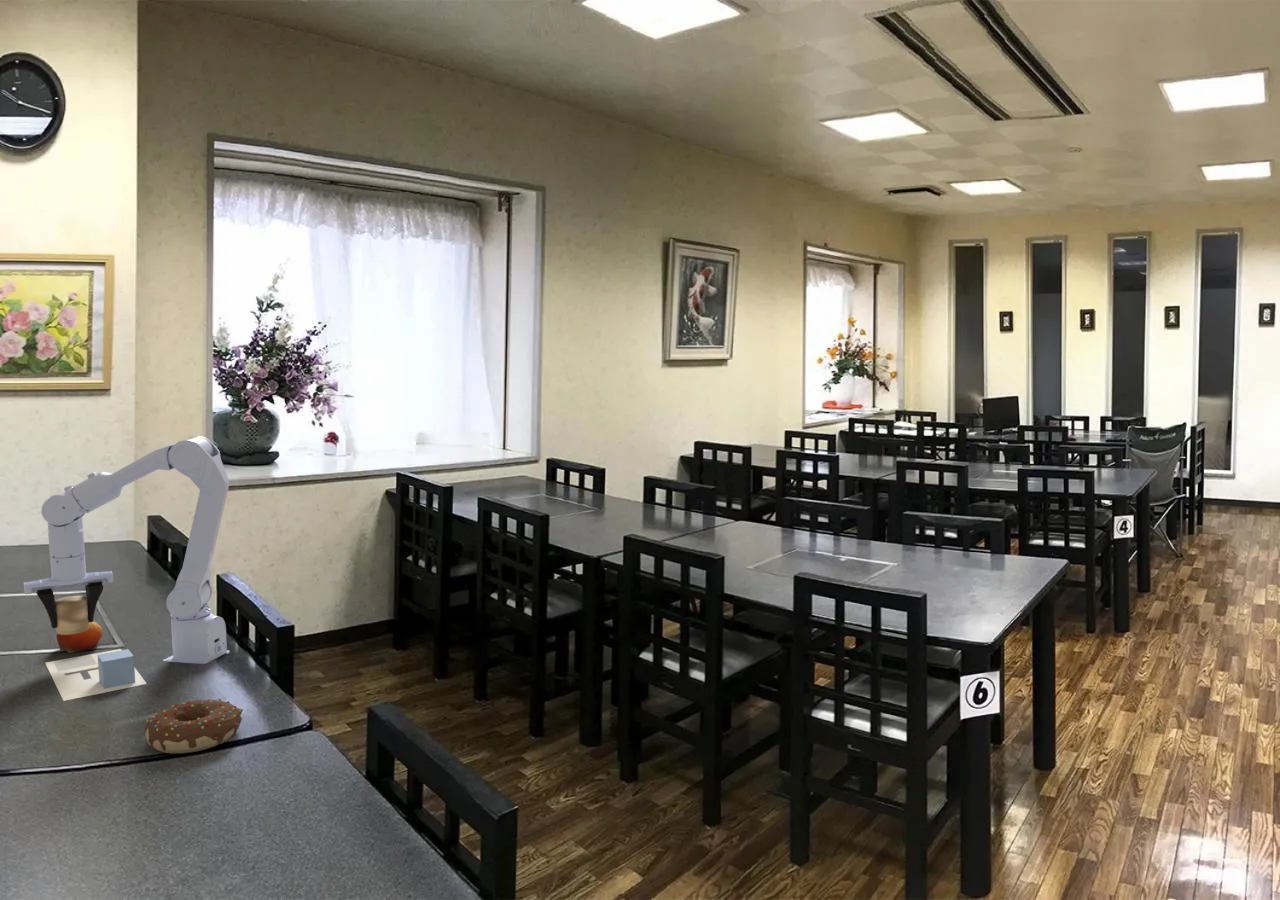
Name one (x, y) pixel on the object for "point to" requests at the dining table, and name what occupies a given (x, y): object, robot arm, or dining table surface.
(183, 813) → the dining table surface
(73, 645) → the fruit
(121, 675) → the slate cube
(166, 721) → the donut
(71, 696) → the letter mat
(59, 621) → the wooden cylinder
